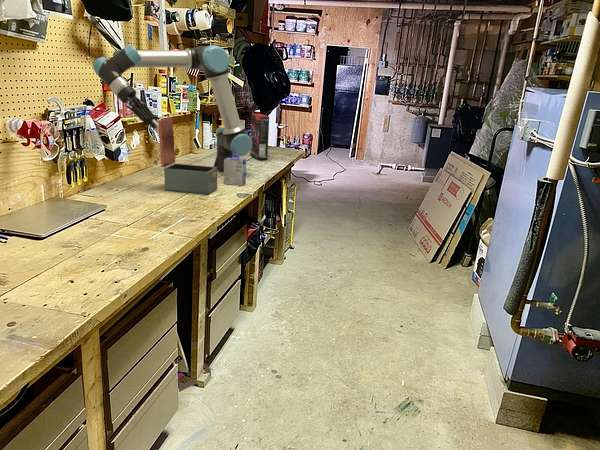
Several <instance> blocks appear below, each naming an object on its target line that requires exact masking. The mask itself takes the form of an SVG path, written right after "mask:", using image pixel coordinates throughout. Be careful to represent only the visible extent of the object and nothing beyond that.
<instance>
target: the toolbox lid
mask: <svg viewBox="0 0 600 450" xmlns="http://www.w3.org/2000/svg"><path fill="white" fill-rule="evenodd" d="M173 119H174V118H173V117H168V118H164V119H159V120H157V123H158V127H159V135H158V137H159V139H158V140H159V150H160V151H159V152H160V153H159V154H160V164H161V165H160V167H161V168H166V167H169V166H171V165H173V164H176V151H175V149H176V148H175V134H174V121H173Z"/></svg>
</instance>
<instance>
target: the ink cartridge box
mask: <svg viewBox="0 0 600 450" xmlns="http://www.w3.org/2000/svg"><path fill="white" fill-rule="evenodd" d="M234 155H237V156H238V157H234ZM240 157H241V156H240V154H234V153H233V155H232V158H226V159H224V172H223V184H225V185H233V186H234V185H235V186H244V185H246V184H247V159H246V158H240Z"/></svg>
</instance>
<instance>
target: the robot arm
mask: <svg viewBox="0 0 600 450" xmlns="http://www.w3.org/2000/svg"><path fill="white" fill-rule="evenodd" d="M117 50H118V51H115V50H114V51H115V52H114V51H113V52H114V53H113V52H112V53H113V57H111V56H110V58H106V57H105V56H101V57H98V58H96V59H95V60H94V61H93V63H92V65H93V67H94V70H95V71H94V70H93V71H94V73H96V75H97V76H98V78H100V80H101V81H102V82H104V84H105V85H106V86H107V87H108V88H109V89H110V90H111V92H112V93H113V94H114V95H115V96H117V98H118V99H119V101H120V102H121V103H123V104H126V105H125V107H126V109H128V110H129V111H131V112H132V113H133V114H134V115H135V116H136V117H137V118H138V119H140V120H141V122H142V123H144V124H145V125H149V126H150V127H151V129H152V130H153V131H154V132H155V133H156V135H158V136H159V127H158V121H156V116H155V115H154V113H153V112H152V111H151V109H150V108H149V106H148V105H147V104H146V101H144V100H142V101H141V100H140V98H138V97H137V91H136V89H134V87H133V86H132V85H130V83H129V81H127V79H126V78H125V77H124V76H123V74H124V73H125V72H127V71H128V70H130V69H132V68H187V69H188V70H197V71H203V73H204V76H205V78H206V80H208V81H209V82H210V84H211V88H212V91H213V94H214V99H215V101H216V105H217V108H218V111H219V114H220V115H219V116H220V119H221V121H222V124H223V127H218V128H217V129H216V157H215V160H214V164H213V167H217V172H220V173H221V172H223V173H224V159H226V158H232V155H233V153H234V154H240V157H244V156H246V155H247V154H249V153H250V150H251V148H252V140H251V136H250V135H248V133H247V131H246V127H245V125H243V124H242V123H241V120H240V117H239V113H238V110H237V106H236V102H235V98H234V95H233V91H232V88H231V85H230V82H229V74H230V73H231V72H230V69H229V66H230V58H229V54H228V52H227V51H226V49H224V48H223V47H221V46H219V45H218V46H217V45H214V44H210V45H204V46H200V47H199V46H198V47H191V48H190V47H189V48H188V47H187V48H185V49H184V50H175V49H174V50H173V49H172V50H169V49H168V50H166V49H165V50H163V49H161V50H160V49H159V50H158V49H156V50H155V49H153V50H152V49H151V50H149V49H147V50H146V49H136V48H135V46H133V44H127V45H126V46H124V47H123V48H122V49H117ZM234 157H238V156H237V155H234Z"/></svg>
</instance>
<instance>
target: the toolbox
mask: <svg viewBox="0 0 600 450" xmlns="http://www.w3.org/2000/svg"><path fill="white" fill-rule="evenodd" d="M163 173H164V191H166V192H174V193H185V194H196V195H205V196H206V195H207V196H210V195H211V194H212V193H213V192H215V191H216V190H217V189H218V171H217V167H214V166H209V165H208V166H206V165H195V164H187V163H186V164H185V163H173V164H171V165H168V166H166V167H163Z"/></svg>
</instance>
